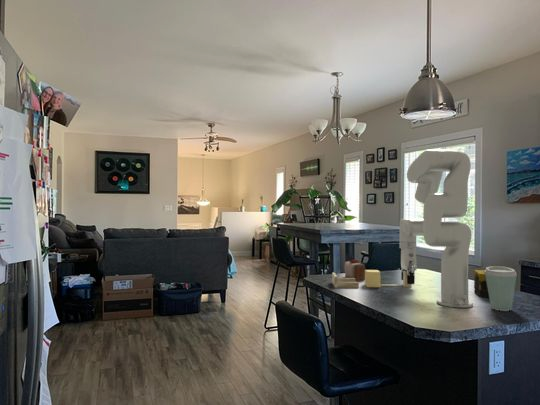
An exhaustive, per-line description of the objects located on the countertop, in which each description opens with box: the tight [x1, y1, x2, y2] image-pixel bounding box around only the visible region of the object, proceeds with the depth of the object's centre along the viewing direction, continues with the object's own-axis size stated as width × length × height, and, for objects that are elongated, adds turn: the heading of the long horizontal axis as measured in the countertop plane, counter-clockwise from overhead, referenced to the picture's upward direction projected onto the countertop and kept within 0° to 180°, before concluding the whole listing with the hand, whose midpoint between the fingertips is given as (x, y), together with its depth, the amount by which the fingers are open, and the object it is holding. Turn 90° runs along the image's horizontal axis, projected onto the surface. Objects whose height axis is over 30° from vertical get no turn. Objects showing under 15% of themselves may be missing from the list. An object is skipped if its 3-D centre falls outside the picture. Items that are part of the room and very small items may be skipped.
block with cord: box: [364, 269, 413, 288], centre depth 188 cm, size 6×20×7 cm, turn 86°
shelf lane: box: [331, 272, 360, 289], centre depth 189 cm, size 11×11×5 cm
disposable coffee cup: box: [484, 265, 518, 312], centre depth 147 cm, size 11×11×15 cm
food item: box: [343, 259, 366, 282], centre depth 207 cm, size 14×8×10 cm, turn 12°
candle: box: [473, 269, 490, 299], centre depth 170 cm, size 10×10×10 cm
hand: (407, 281), depth 187 cm, fingers open, 9 cm apart
